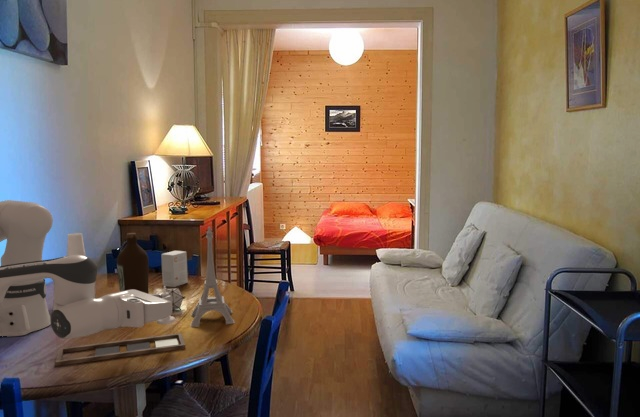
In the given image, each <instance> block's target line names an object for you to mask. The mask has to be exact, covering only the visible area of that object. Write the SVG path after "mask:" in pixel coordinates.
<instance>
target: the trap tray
mask: <svg viewBox="0 0 640 417" xmlns="http://www.w3.org/2000/svg"><path fill="white" fill-rule="evenodd" d="M173 338H177V340H178V345H171V346H163V347H156V346H155V347H150V348H148V349H141V350H133V351H127V350H126V351H121V352H120V351H119V352H118V353H111V354H103V355H96V356H95V355H89V356H81V357H76V358H69V359H63V357H64V354H65V353H71V352H72V353H73V352H79V351H87V350H96V348H104V347H111V346H119V347H120V346H127V344H135V343H142V342H149V343H150V342H155V341H158V340H166V339H173ZM185 343H186V342H185V340H184V337H183V334H182V333H181V332H180V333H172V334H171V333H169V334H163V335H157V336H156V335H155V336H146V337H140V338H139V337H138V338H132V339H130V338H129V339H123V340H114V341H108V342H99V343H93V344H92V343H91V344H85V345H74V346H68V347H60V348H59V350H58V352H57V357H56V360H55V367H59V366H66V365H74V364H80V363H89V362H95V361H102V360H110V359H111V360H112V359H117V358H124V357H132V356H139V355H148V354H153V353H160V352H168V351H175V350H183V349H186V344H185Z"/></svg>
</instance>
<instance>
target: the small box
mask: <svg viewBox="0 0 640 417" xmlns="http://www.w3.org/2000/svg"><path fill="white" fill-rule="evenodd" d="M187 253H188V252H187V251H183V250H172V251H169V252H168V251H167V252H164V253H161V254H160V255H161V274H162V275H161V278H162V286H163V287H164V286H166V287H170V288H177V287H179V286H181V285H185V284H187V283H189V282H188V280H189V279H188V278H189V277H188V257H187V256H188V254H187Z"/></svg>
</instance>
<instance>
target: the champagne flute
mask: <svg viewBox="0 0 640 417" xmlns="http://www.w3.org/2000/svg"><path fill="white" fill-rule="evenodd" d="M85 248H86V247H85V244H84V236H83V233H81V232H75V233H68V234H67V244H66V249H67V250H66V256H70V255H86V250H85ZM86 256H87V255H86Z"/></svg>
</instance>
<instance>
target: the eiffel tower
mask: <svg viewBox="0 0 640 417" xmlns="http://www.w3.org/2000/svg"><path fill="white" fill-rule="evenodd" d="M205 238H206V239H207V260H206V261H207V262H206V274H205V280H204V287H203V292H202V294H201V297H199V298H198V303H197V304H196V306H195V308H193V311H192V312H191V313H190V317H193V319H192V321H191V323H190V328H197V327H200V321H201V319H202V317H203V316H204V315H205V314H206V313H207V312H210V311H215V312H217V313H218V312H219V313H220V314H221V315H222V316H223V318H224V319H225V325H232V324H233V325H234V324H235V320H234V319H233V317H232V316H231V314H233V309H231V307H230V306H229V305H228V304H227V303H226V301H225V297H224V296H223V295H222V294H221V291H220V289H219V286H218V279H216V273H215V272H216V271H215V264H214V263H215V262H214V254H213V253H214V252H213V238H214V236H213V232H212V229H211V226H208V227H207V231H206V236H205ZM210 289H213V293H214V296H209V291H210Z"/></svg>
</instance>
